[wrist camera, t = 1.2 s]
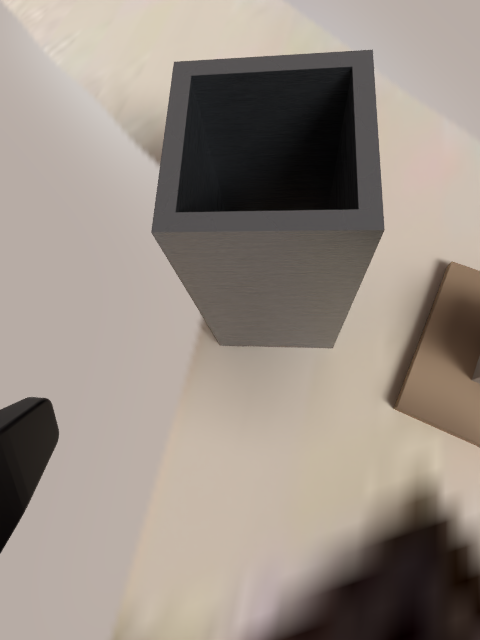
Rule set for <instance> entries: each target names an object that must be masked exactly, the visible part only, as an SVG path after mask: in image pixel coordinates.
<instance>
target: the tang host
mask: <svg viewBox="0 0 480 640" xmlns="http://www.w3.org/2000/svg"><path fill="white" fill-rule="evenodd" d="M394 409H395V410H397V411H399V412H402V413H404V414H406V415H408V416H411V417H413V418H415V419H417V420H420V421H422V422H424V423H426V424H429V425H431V426H433V427H435V428H438V429H440V430H442V431H444V432H447V433H449V434H451V435H453V436H456V437H458V438H460V439H462V440H465V441H467V442H469V443H471V444H474V445H476V446H478V447H480V271H478V270H475V269H472V268H469V267H466V266H463V265H461V264H458V263H455V262H451V263H450V264H449V265H448V267H447V269H446V271H445V274H444V277H443V279H442V282H441V284H440V287H439V290H438V292H437V295H436V298H435V300H434V303H433V306H432V308H431V311H430V314H429V316H428V319H427V322H426V324H425V327H424V330H423V332H422V335H421V338H420V340H419V343H418V346H417V348H416V351H415V353H414V356H413V359H412V361H411V364H410V367H409V369H408V372H407V375H406V377H405V380H404V383H403V385H402V388H401V391H400V393H399V396H398V399H397V401H396V404H395V407H394Z"/></svg>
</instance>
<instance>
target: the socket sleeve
mask: <svg viewBox="0 0 480 640" xmlns="http://www.w3.org/2000/svg"><path fill="white" fill-rule="evenodd" d="M159 172H160V173H159V180H158V187H157V194H156V202H155V209H154V217H153V224H152V234H153V236H154V237H155V239H156V240H157V242H158V244H159V246H160V247H161V249H162V251H163V252H164V254H165V255H166V257H167V259H168V260H169V262H170V264H171V265H172V267H173V269H174V270H175V272H176V274H177V275H178V277H179V278H180V280H181V282H182V283H183V285H184V287H185V288H186V290H187V291H188V293H189V295H190V296H191V298H192V300H193V301H194V303H195V305H196V306H197V308H198V310H199V311H200V313H201V315H202V316H203V318H204V320H205V321H206V323H207V324H208V326H209V328H210V329H211V331H212V333H213V334H214V336H215V338H216V339H217V341H218V343H219V344H220V346H264V347H308V348H333V346H334V344H335V342H336V339H337V337H338V335H339V333H340V330H341V328H342V326H343V323H344V321H345V319H346V317H347V314H348V312H349V310H350V307H351V305H352V303H353V301H354V298H355V296H356V294H357V291H358V289H359V287H360V285H361V282H362V280H363V278H364V275H365V273H366V271H367V269H368V266H369V264H370V262H371V259H372V257H373V255H374V253H375V250H376V248H377V246H378V243H379V241H380V239H381V237H382V234H383V232H384V216H383V201H382V186H381V170H380V155H379V140H378V124H377V109H376V94H375V78H374V63H373V50H363V51H346V52H329V53H313V54H296V55H280V56H264V57H247V58H231V59H214V60H198V61H181V62H174V66H173V73H172V81H171V89H170V96H169V104H168V111H167V119H166V126H165V134H164V141H163V149H162V156H161V164H160V171H159Z"/></svg>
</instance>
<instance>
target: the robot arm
mask: <svg viewBox="0 0 480 640" xmlns="http://www.w3.org/2000/svg"><path fill="white" fill-rule="evenodd" d="M58 438H59V429H58V425H57V421H56V417H55V414H54V410H53V406H52V403H51V401H50V400H49V399H46V398H36V397H29V398H25V399H23V400H21V401H19V402H17V403H15V404H12V405H10V406H8V407H6V408H3V409H1V410H0V553H1V552H2V550H3V548H4V546H5V545H6V543H7V541H8V540H9V538H10V536H11V535H12V533H13V531H14V529H15V528H16V526H17V524H18V523H19V521H20V519H21V517H22V515H23V514H24V512H25V510H26V508H27V506H28V504H29V502H30V500H31V497H32V495H33V493H34V491H35V489H36V487H37V485H38V483H39V481H40V479H41V476H42V474H43V472H44V470H45V468H46V466H47V463H48V461H49V459H50V457H51V455H52V453H53V451H54V448H55V447H56V444H57V442H58Z"/></svg>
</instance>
